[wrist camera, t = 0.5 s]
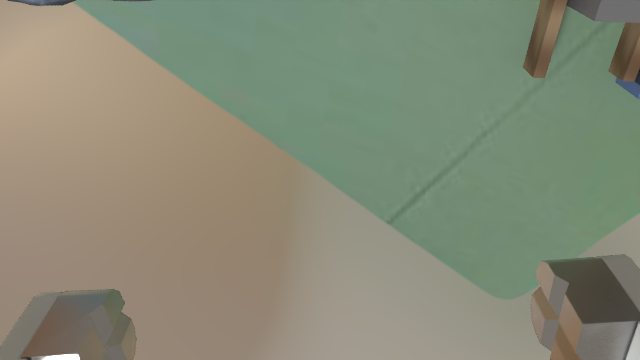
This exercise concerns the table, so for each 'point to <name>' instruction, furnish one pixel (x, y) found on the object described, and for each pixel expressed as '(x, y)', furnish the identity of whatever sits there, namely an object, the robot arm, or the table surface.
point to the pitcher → (54, 2)
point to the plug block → (608, 10)
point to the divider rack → (631, 54)
